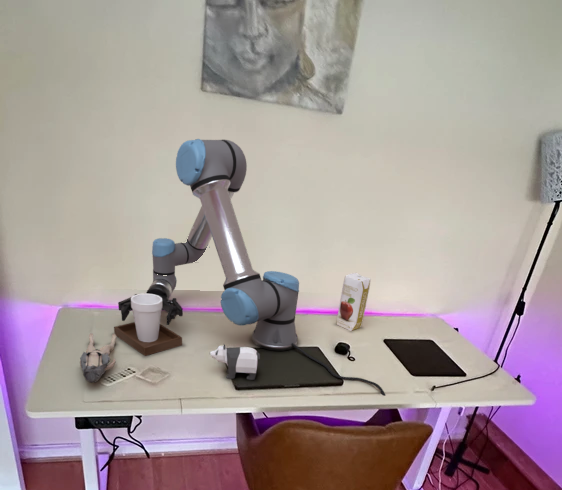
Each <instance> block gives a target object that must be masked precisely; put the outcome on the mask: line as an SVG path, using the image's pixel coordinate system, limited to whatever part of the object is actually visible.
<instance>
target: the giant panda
mask: <svg viewBox="0 0 562 490" xmlns="http://www.w3.org/2000/svg"><path fill="white" fill-rule="evenodd" d="M209 356H210V357H211V358H213V359H214V360H216V361H217V362H218V363H223V364H226V366H227V368H228V369H226V373H228V374H227V375H226V376H225V378H226V379H231V380H232V379H235V378H236V374H237V373H241V374H247V376H246V380H249V381H253V380H254V381H255V379H256V376H257V370H258V360H261V353H259V352H258V351H257V350H256V349H255V348H253V347H248V346H242V347H241V346H239V347H226V345H225V343H223V345H218V346H217V347H216V349H214V350H211V351H209Z"/></svg>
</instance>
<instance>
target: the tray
mask: <svg viewBox="0 0 562 490" xmlns="http://www.w3.org/2000/svg"><path fill="white" fill-rule="evenodd" d="M113 335H116V336H117V338H119V339H120V340H121V341H122V342H124V343H125V344H127V345H128V346H130V347H131V348H132V349H134V350H135V351H137V352H139V354H141V355H143V356H144V357H147V356H150V355H151V356H152V355H154V354H156V353H161V352H164V351H168V350H171V349H174V348H177V347H181V346H183V337H182V336H181V335H180V334H178V333H176V332H175V331H173V330H172V329H169V328H168V327H166V326H164V325H163V324H161V323H160V327H159V335H158V339H157V340H156V341H153V342H143V341H140V340H139V339H138V337H137V331H136V326H135V321H132V322H128V323H125V324H121V325H116V326H114V327H113Z"/></svg>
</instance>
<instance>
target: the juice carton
mask: <svg viewBox="0 0 562 490" xmlns="http://www.w3.org/2000/svg"><path fill="white" fill-rule="evenodd" d="M371 280H372V279H371V277H368V276H363V275H361V274H359V273H357V272H352V273H349V274H346V275H345V276H344V279H343V283H342V289H341V295H340V300H339V305H338V311H337V316H336V325H337V326H339V327H341V328H344V329H346V330H347V331H350V332H352V331H354V330H357V329H360V328H361V327H362V325H363V322H364V317H365V312H366V307H367V303H368V298H369V293H370V286H371Z"/></svg>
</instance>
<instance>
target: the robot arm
mask: <svg viewBox="0 0 562 490" xmlns="http://www.w3.org/2000/svg"><path fill="white" fill-rule="evenodd" d="M247 163H248V162H247V159H246V155H245V153H244V151H243V150H242V148H241V147H240V146H239V145H238V144H237V143H236V142H234V141H232V140H229V139H200V138H196V139H189V140H185V141H184V142H183V143H182V144H180V146H179V148H178V150H177V153H176V157H175V170H176V175H177V177H178V179H179V181H180V182H181V183H182V184H183V185H186V186H189V187H190V190H191V193H192V195H193V196H194V197H196V198H197V199H199V201H200V203H201V207H200V208H199V211H198V213H197V215H196V217H195V220H194V222H193V224H192V226H191V228H190V231H189V233H188V235H189V236H187V237H188V239H187V238H186V239H187V242H186V243H182V242H176V243H175V241H174V240H173V239H171V238H166V237H163V238H162V237H159V238H156V239H154V240H153V241H152V251H151V254H152V282H151V284H150V286H149V287H148V289H147V290H146V292H145V293H147V294H155V295H158V296H160V297H161V298H162V310H161V311H165V312H166V313H167V315H166V317H165V319H166V326H170V324H171V322H172V320H175V319H176V318H177V316H178V317H183V312H184V309H183V307H182V306H181V305H180V304H179V302H178V301H177V298H176V297H173V298H171V297H172V294H173V292H174V290H175V289H176V287H177V281H178V280H177V276H176V267H178V266H183V265H188V264H194V263H193V262H195V261H197V260H198V259H199V258H200V257H201V256H202V255H203V253H204V252H205V250H206V248H207V246H208V245H209V244H210V241H211V240H213V243H214V246H215V250H216V252H217V257H218V258H219V262H220V264H221V268H222V270H223V273H224V277H225V280H224V282H223V283H222V287H223V292H222V293H221V296H220V299H221V300H220V306H221V309H222V312H223V314H224V316H225V317H226V318H227V319H228V320H229V322H232V323H233V325H236V326H240V327H241V326H242V327H243V326H247V325H253V324H256V325H255V328H254V329H253V331H252V338H251V340H252V343H253V344H254V345H256V346H257V347H258V348H262V349H264V350H267V351H273V352H285V351H290V350H293V349H294V348H295V349H296V350H298V351H299V352H300V353H302V354H303V355H304V356H306V358H309V359H310V360H311V361H314V362H316V363H318V364H320V366H323V367H324V368H325V369H326V370H327V371H328V373H329V374H330V375H331V376H333V377H335V378H336V379H340V380H346V381H359V382H364V383H367V384H370V385H372V386H374V387H376V388H377V389H378V390H379V391H380V393H381V396H384V397H385V396H386V392H385V391H384V389H383V388H382V387H381V386H380V384H378V383H376V382H374V381H371V380H368V379H365V378H361V377H354V376H342V375H339V374H336V373H335V372H333V370H332V369H331V368H330V367H329V366H328V365H327V364H326V363H324V362H323V361H322V360H319V359H317V358H315V357H314V356H312V355H310V354H309V353H307V352H306V351H305V350H304V349H302V348H300V347H299V346H298V340H299V338H298V337H299V336H298V334H297V329H296V323H295V320H296V313H297V307H298V299H299V294H300V281H299V279H298V278H297V277H296V276H294V275H292V274H289V273H286V272H282V271H277V270H276V271H275V270H269V271H265V272H263V275H262V276H261V274H260V273H259V272H258V271H256V270H255V269H254V268H253V266H252V263H251V259H250V256H249V252H248V250H247V247H246V244H245V241H244V237H243V234H242V231H241V228H240V224H239V222H238V219H237V218H238V217H237V215H236V212H235V209H234V206H233V203H232V199H233V196H234V194H237V193H239V192H240V190H241V188H242V186H243V184H244V182H245V179H246V175H247V167H248V165H247ZM195 263H196V262H195ZM157 274H158V275H157ZM163 275H167V276H163ZM137 294H138V293H134V295H137ZM131 297H132V296H130V297H128V298H125V299H123V300H120V301H118V302H117V304H118V306H117V307H118V311H120V315H121V321H122V322H125V320H126V319H127V318H128V316H129V315H130V312H131V311H132V312H133V310H132V308H131ZM170 298H171V299H170Z"/></svg>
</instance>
